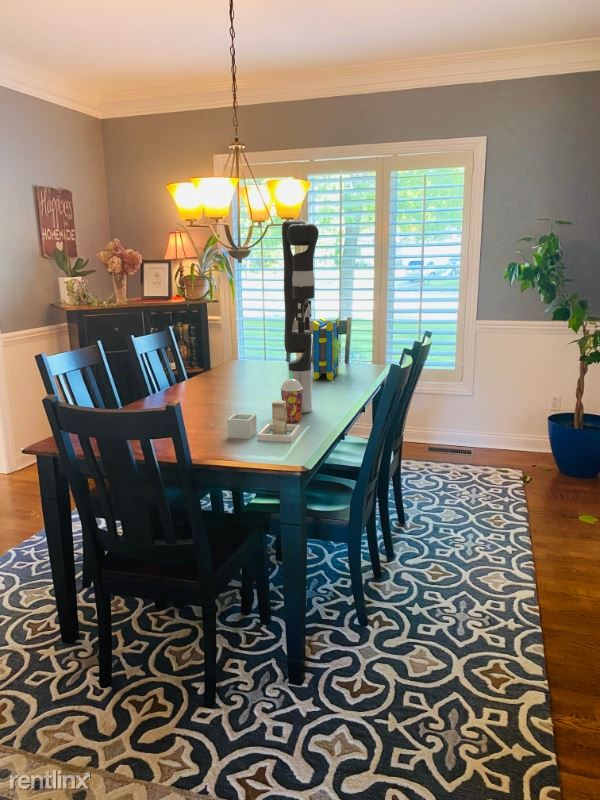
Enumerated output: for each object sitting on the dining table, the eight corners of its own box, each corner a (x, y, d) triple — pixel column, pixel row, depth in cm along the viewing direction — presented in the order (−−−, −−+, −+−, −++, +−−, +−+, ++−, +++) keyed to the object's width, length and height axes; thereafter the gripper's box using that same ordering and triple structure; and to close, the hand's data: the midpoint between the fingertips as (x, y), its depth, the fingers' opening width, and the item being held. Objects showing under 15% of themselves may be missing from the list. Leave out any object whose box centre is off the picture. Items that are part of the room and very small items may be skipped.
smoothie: (280, 420, 228) (279, 369, 223) (302, 419, 228) (301, 369, 224) (282, 426, 220) (280, 373, 215) (304, 425, 220) (303, 373, 216)
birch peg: (275, 433, 208) (274, 400, 205) (286, 434, 207) (285, 401, 205) (272, 436, 204) (271, 403, 202) (284, 437, 204) (283, 403, 201)
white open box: (235, 433, 212) (234, 413, 210) (256, 434, 210) (256, 414, 208) (228, 440, 204) (227, 419, 202) (250, 441, 202) (249, 420, 201)
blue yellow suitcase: (343, 373, 319) (343, 317, 312) (335, 381, 297) (335, 322, 290) (317, 372, 323) (317, 317, 316) (307, 380, 301) (307, 322, 294)
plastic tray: (268, 431, 214) (268, 423, 213) (300, 432, 211) (300, 424, 211) (257, 442, 201) (257, 434, 200) (291, 444, 198) (291, 436, 197)
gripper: (297, 283, 209) (298, 329, 213) (287, 285, 196) (288, 334, 200) (318, 283, 208) (318, 329, 211) (309, 285, 194) (310, 334, 198)
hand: (304, 331), depth 206 cm, fingers open, 8 cm apart
